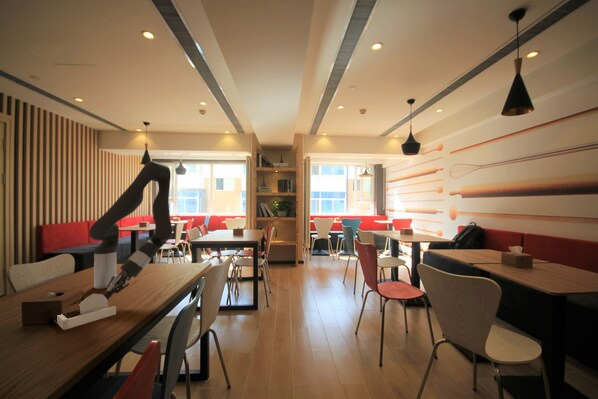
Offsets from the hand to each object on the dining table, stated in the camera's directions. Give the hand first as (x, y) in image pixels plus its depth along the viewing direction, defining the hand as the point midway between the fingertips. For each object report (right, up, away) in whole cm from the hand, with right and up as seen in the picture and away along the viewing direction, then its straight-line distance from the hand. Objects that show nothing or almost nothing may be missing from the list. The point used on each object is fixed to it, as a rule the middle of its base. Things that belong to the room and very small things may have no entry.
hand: (102, 300), depth 101 cm
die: (+1, -4, -5) cm, 6 cm away
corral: (-3, -4, -4) cm, 6 cm away
